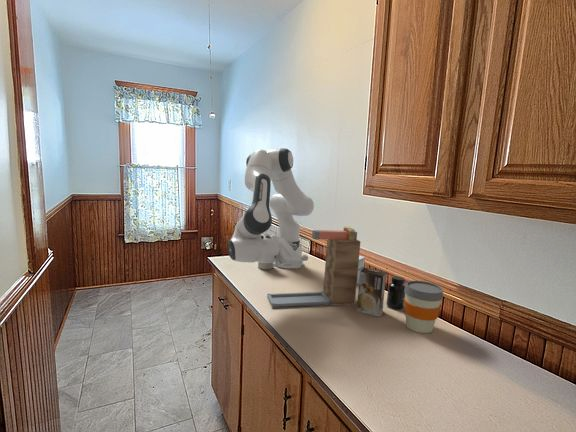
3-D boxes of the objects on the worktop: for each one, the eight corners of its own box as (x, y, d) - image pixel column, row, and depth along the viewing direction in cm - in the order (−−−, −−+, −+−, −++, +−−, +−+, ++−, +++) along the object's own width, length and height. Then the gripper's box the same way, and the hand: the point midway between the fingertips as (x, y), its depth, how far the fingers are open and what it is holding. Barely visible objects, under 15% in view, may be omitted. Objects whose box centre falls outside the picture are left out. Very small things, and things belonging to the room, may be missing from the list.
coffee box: (383, 311, 127) (387, 271, 125) (379, 317, 122) (384, 276, 119) (360, 305, 132) (363, 267, 129) (355, 311, 126) (359, 271, 123)
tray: (267, 297, 134) (267, 293, 133) (322, 295, 140) (322, 291, 139) (272, 308, 124) (272, 304, 124) (331, 305, 130) (331, 301, 130)
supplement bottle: (405, 311, 129) (408, 281, 127) (387, 308, 130) (390, 279, 128) (402, 304, 135) (405, 276, 134) (385, 301, 137) (388, 274, 135)
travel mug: (255, 265, 174) (257, 232, 172) (269, 264, 178) (271, 232, 175) (261, 270, 167) (262, 236, 165) (275, 269, 171) (277, 235, 168)
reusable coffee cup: (418, 338, 108) (423, 295, 106) (393, 320, 120) (397, 281, 117) (446, 332, 113) (452, 291, 111) (419, 316, 124) (424, 279, 122)
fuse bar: (311, 237, 130) (312, 230, 130) (353, 237, 135) (354, 230, 134) (314, 239, 128) (314, 231, 127) (356, 239, 132) (357, 232, 132)
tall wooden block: (322, 295, 140) (328, 225, 135) (344, 294, 142) (350, 225, 138) (331, 305, 130) (337, 230, 126) (354, 303, 133) (361, 230, 128)
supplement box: (356, 285, 154) (359, 259, 152) (342, 281, 159) (344, 256, 157) (363, 281, 160) (365, 256, 158) (349, 277, 164) (351, 253, 162)
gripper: (282, 257, 115) (316, 257, 121) (263, 232, 132) (293, 234, 138) (278, 272, 117) (311, 272, 123) (260, 246, 134) (290, 247, 140)
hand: (301, 252), depth 131 cm, fingers open, 8 cm apart
